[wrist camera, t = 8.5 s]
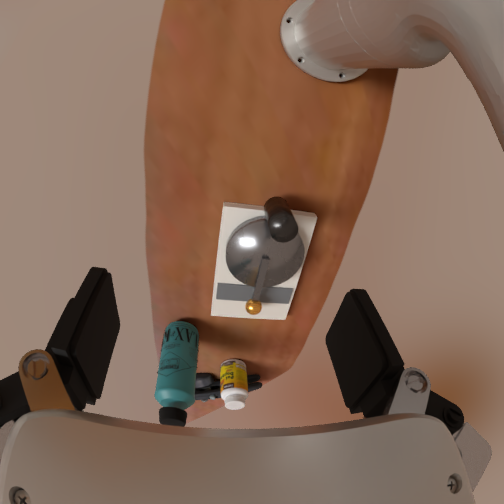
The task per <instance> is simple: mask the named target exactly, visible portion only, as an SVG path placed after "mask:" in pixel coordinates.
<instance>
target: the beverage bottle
mask: <svg viewBox="0 0 504 504" xmlns="http://www.w3.org/2000/svg"><path fill="white" fill-rule="evenodd" d="M164 331H165V335H164V339H163V344H162V346H161V347H162V350H161V357H160V363H159V370H158V378H157V384H156V391H155V398H156V400H157V401H158V402H159V403H160V404H161V405H162V406H163V408H161V409H160V410H159V421H160V423H161V424H162V425H171V426H181V427H184V426H185V424H186V418H187V412H186V411H184V409H187V408H188V407H190V406H191V405H193V404H194V402H195V381H196V369H197V368H198V367H197V361H198V359H197V358H198V357H197V356H198V355H197V354H198V353H199V350H198V345H199V342H198V341H199V338H200V337H199V336H200V335H199V334H198V330H197V328H196V327H195V326H193V325H192V324H190V323H188V322H183V321H176V322H172V323H170V324H169V325H168V326H167V327H166V330H164Z"/></svg>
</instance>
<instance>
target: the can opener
mask: <svg viewBox="0 0 504 504" xmlns="http://www.w3.org/2000/svg"><path fill="white" fill-rule="evenodd" d="M259 379H260V376H259V375H257V374H254V375H247V384H248V392H250V391H253V390H256V389H259V388H261V387H262V383H261V382H256V381H258V380H259ZM253 382H254V383H253ZM215 398H221V382H220V381H214V378H213V377H212V376H211V374H209V373H196V381H195V400H201V401H203V402H206V401H208V399H212V400H215Z"/></svg>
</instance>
